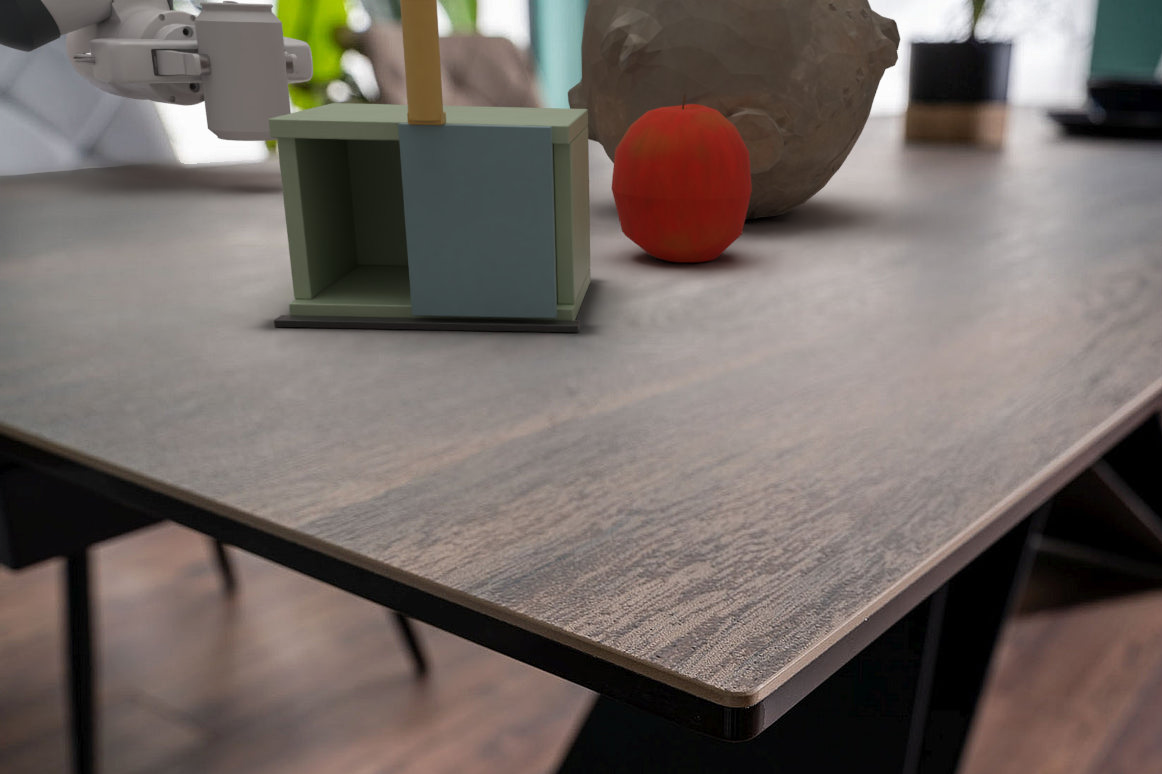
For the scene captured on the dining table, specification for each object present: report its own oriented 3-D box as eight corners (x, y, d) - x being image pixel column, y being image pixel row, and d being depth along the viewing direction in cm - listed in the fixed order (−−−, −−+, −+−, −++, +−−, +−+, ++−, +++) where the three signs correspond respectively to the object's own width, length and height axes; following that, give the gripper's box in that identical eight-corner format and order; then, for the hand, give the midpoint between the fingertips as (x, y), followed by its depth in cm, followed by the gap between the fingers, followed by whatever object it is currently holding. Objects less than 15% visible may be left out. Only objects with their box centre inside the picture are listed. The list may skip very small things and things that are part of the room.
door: (408, 319, 65) (377, -93, 58) (415, 312, 67) (386, -90, 59) (554, 322, 65) (542, -89, 58) (557, 314, 67) (546, -86, 60)
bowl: (882, 247, 94) (902, -30, 86) (532, 229, 97) (523, -37, 90) (890, 198, 119) (906, -19, 111) (612, 186, 122) (609, -25, 115)
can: (232, 143, 107) (215, 0, 103) (194, 136, 112) (176, -1, 108) (308, 139, 112) (295, 2, 108) (269, 132, 117) (255, 1, 113)
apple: (664, 240, 94) (665, 87, 90) (775, 255, 89) (782, 94, 85) (585, 260, 86) (582, 92, 82) (703, 277, 81) (706, 100, 77)
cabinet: (274, 327, 66) (250, 120, 62) (342, 277, 78) (325, 102, 74) (577, 332, 66) (573, 128, 62) (596, 282, 79) (594, 109, 75)
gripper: (59, 21, 109) (130, 25, 101) (264, 25, 124) (341, 29, 116) (70, 93, 111) (141, 103, 103) (270, 89, 126) (346, 97, 118)
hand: (248, 64), depth 109 cm, fingers closed on can, 7 cm apart
